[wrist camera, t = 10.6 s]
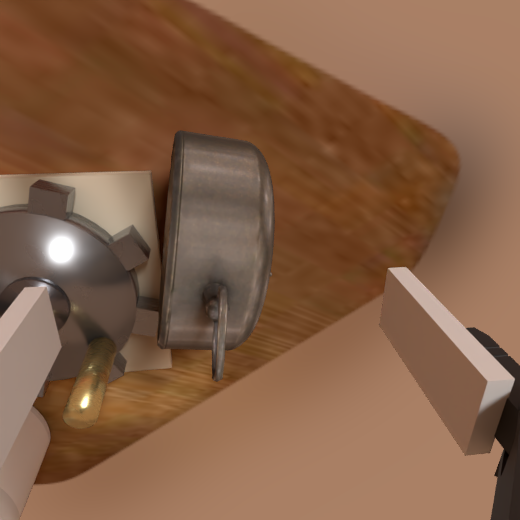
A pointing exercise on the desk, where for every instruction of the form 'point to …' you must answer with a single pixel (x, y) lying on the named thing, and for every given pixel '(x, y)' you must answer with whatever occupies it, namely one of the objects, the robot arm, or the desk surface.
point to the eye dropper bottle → (23, 465)
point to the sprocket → (77, 290)
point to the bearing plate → (113, 221)
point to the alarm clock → (215, 245)
